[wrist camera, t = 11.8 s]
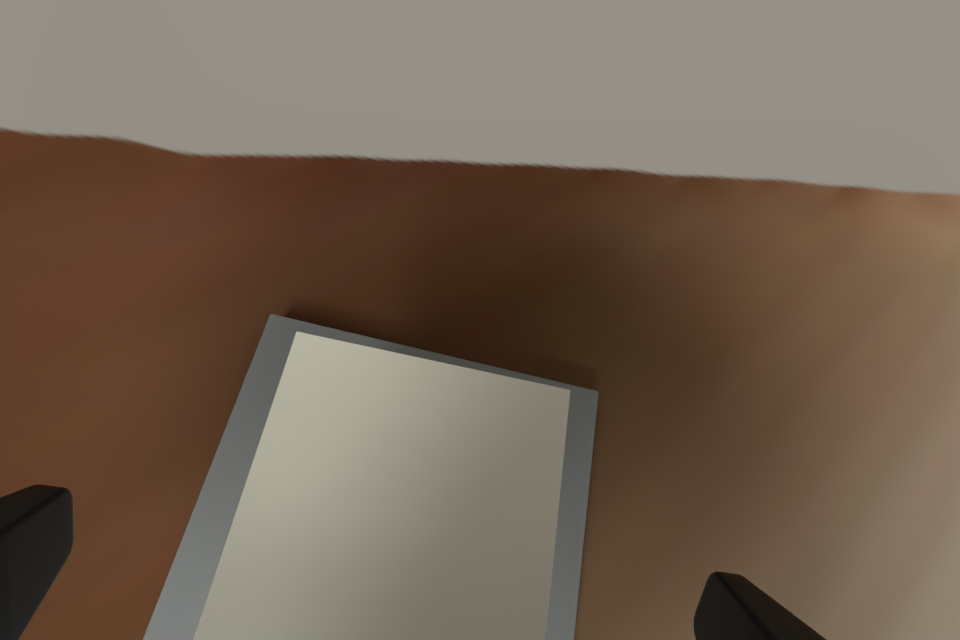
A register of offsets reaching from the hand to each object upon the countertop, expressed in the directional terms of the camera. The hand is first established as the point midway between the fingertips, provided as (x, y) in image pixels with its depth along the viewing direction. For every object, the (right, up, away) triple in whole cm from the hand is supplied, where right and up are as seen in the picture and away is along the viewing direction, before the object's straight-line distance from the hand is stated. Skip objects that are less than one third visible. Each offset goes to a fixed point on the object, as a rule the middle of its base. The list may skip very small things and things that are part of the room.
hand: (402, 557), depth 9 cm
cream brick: (-2, -4, +10) cm, 11 cm away
